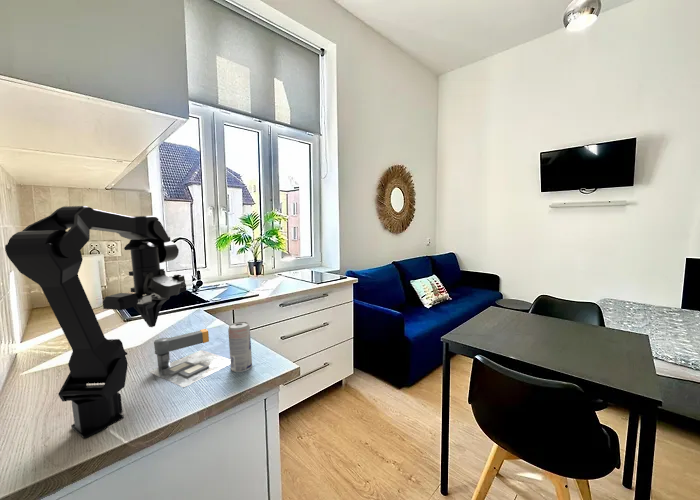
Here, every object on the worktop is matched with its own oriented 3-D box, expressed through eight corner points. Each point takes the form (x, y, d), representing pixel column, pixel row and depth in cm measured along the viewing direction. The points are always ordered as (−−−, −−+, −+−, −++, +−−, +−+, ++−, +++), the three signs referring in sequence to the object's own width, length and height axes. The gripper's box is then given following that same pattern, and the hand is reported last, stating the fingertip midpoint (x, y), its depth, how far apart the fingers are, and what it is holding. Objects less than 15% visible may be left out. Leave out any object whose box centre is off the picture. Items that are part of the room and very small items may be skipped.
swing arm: (156, 356, 79) (155, 344, 79) (154, 352, 82) (152, 340, 82) (209, 342, 88) (208, 331, 87) (206, 338, 91) (205, 327, 90)
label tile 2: (172, 375, 77) (172, 373, 77) (163, 372, 79) (163, 370, 79) (194, 365, 82) (194, 363, 82) (186, 362, 84) (186, 360, 84)
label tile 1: (187, 378, 76) (187, 375, 76) (178, 374, 78) (178, 372, 78) (209, 367, 81) (208, 365, 81) (199, 364, 83) (199, 362, 83)
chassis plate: (183, 389, 72) (182, 371, 71) (147, 372, 80) (146, 356, 80) (236, 362, 84) (235, 347, 84) (200, 351, 93) (199, 337, 92)
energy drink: (251, 362, 85) (248, 320, 83) (252, 370, 80) (250, 326, 78) (231, 365, 83) (228, 323, 81) (231, 375, 78) (227, 329, 76)
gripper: (135, 273, 65) (142, 344, 66) (200, 261, 83) (204, 317, 84) (97, 272, 68) (105, 340, 69) (167, 261, 86) (172, 314, 87)
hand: (152, 326), depth 77 cm, fingers closed
